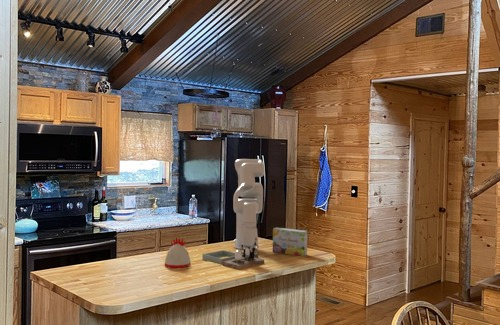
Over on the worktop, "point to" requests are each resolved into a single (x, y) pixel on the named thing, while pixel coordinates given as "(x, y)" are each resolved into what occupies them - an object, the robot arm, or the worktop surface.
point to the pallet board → (243, 263)
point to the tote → (219, 256)
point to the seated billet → (238, 256)
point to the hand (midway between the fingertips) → (248, 257)
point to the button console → (254, 255)
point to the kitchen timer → (177, 255)
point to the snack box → (290, 241)
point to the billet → (247, 253)
